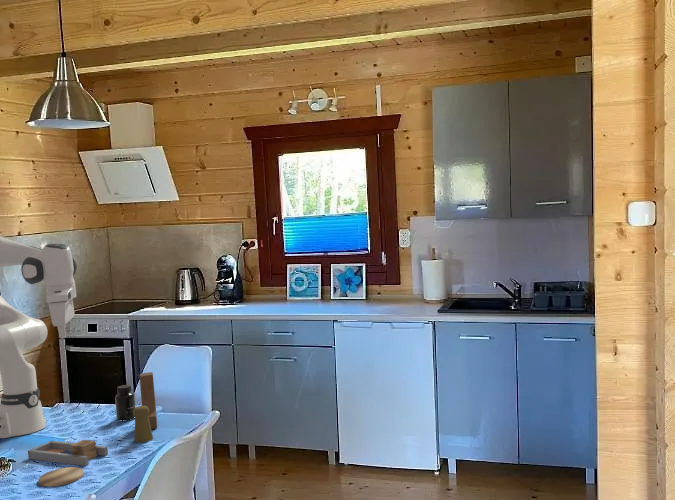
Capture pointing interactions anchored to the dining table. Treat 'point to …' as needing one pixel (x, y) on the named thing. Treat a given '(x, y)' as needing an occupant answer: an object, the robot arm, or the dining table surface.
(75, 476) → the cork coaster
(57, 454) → the channel
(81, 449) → the walnut block
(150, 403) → the wooden block
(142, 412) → the pepper shaker
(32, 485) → the dining table surface
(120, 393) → the supplement bottle
